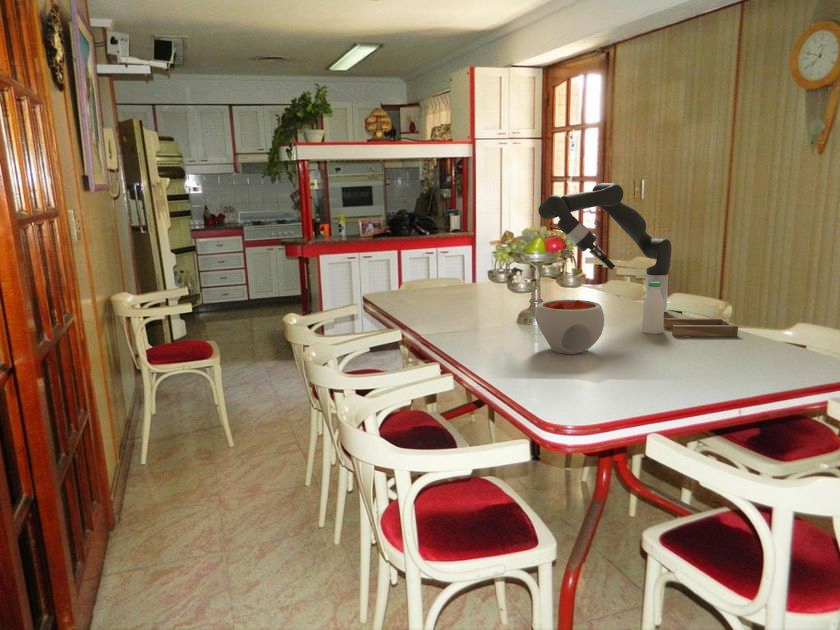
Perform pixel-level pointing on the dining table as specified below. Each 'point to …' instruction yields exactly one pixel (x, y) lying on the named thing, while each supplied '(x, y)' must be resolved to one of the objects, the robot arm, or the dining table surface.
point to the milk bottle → (653, 310)
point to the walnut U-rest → (700, 327)
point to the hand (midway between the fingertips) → (612, 267)
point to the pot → (570, 324)
